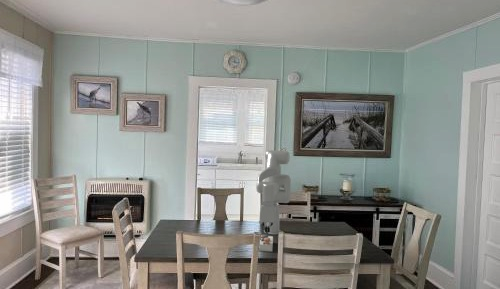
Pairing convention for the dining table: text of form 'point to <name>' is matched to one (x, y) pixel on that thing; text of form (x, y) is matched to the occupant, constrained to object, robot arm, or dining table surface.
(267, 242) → the button
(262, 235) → the middle button
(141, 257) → the dining table surface
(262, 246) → the panel
